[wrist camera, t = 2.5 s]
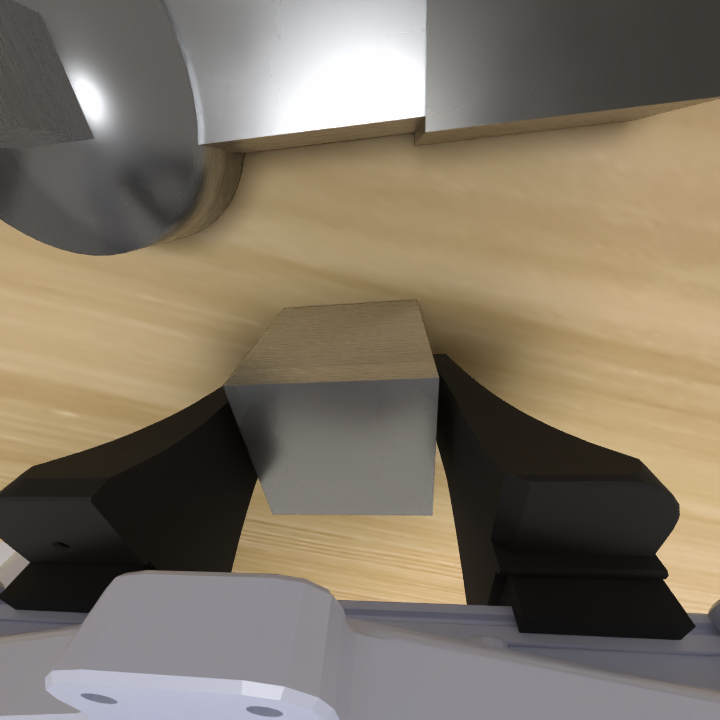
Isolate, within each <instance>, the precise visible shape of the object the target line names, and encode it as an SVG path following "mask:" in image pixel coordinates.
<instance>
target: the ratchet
mask: <svg viewBox="0 0 720 720" xmlns="http://www.w3.org/2000/svg"><path fill="white" fill-rule="evenodd" d="M716 99H720V0H0V219H1V220H2V221H4V222H5V223H7V224H9V225H10V226H12V227H14V228H15V229H17V230H19V231H21V232H22V233H24V234H26V235H28V236H30V237H32V238H34V239H36V240H38V241H40V242H43V243H45V244H48V245H51V246H53V247H56V248H59V249H62V250H66V251H70V252H74V253H78V254H86V255H94V256H100V255H115V254H121V253H126V252H130V251H134V250H137V249H141V248H145V247H148V246H152V245H156V244H160V243H163V242H167V241H171V240H175V239H178V238H182V237H186V236H189V235H192V234H195V233H197V232H199V231H201V230H203V229H205V228H206V227H208V226H209V225H211V224H212V223H213V222H214V221H215V220H217V219H218V217H219V216H220V215H221V214H222V213H223V212H224V211H225V209H226V208H227V206H228V204H229V203H230V201H231V200H232V198H233V195H234V193H235V191H236V188H237V186H238V182H239V179H240V175H241V171H242V164H243V158H244V153H248V152H257V151H265V150H273V149H281V148H290V147H298V146H306V145H314V144H323V143H331V142H339V141H347V140H356V139H364V138H372V137H380V136H389V135H397V134H405V133H413V132H414V146H416V145H424V144H433V143H441V142H450V141H459V140H467V139H476V138H484V137H493V136H501V135H510V134H519V133H527V132H536V131H544V130H553V129H561V128H570V127H578V126H587V125H596V124H604V123H613V122H621V121H630V120H637V119H641V118H645V117H649V116H653V115H657V114H661V113H664V112H668V111H672V110H676V109H680V108H684V107H688V106H692V105H696V104H700V103H704V102H708V101H712V100H716Z"/></svg>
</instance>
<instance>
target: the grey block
mask: <svg viewBox="0 0 720 720" xmlns="http://www.w3.org/2000/svg"><path fill="white" fill-rule="evenodd" d="M223 388H224V391H225V393H226V396H227V398H228V401H229V403H230V406H231V409H232V411H233V414H234V416H235V419H236V421H237V424H238V426H239V429H240V432H241V434H242V437H243V439H244V442H245V444H246V447H247V450H248V452H249V455H250V457H251V460H252V462H253V465H254V468H255V470H256V473H257V475H258V478H259V480H260V483H261V486H262V488H263V491H264V493H265V496H266V498H267V501H268V504H269V506H270V509H271V511H272V514H297V515H424V516H432V513H433V493H434V473H435V452H436V432H437V412H438V391H439V375H438V372H437V368H436V365H435V361H434V358H433V355H432V351H431V348H430V344H429V341H428V337H427V334H426V330H425V327H424V323H423V320H422V317H421V313H420V310H419V306H418V303H417V300H408V301H393V302H377V303H362V304H346V305H331V306H315V307H300V308H284V309H283V310H282V312H281V313H280V314H279V315H278V317H277V318H276V319H275V321H274V322H273V323H272V324H271V326H270V327H269V328H268V329H267V331H266V332H265V333H264V334H263V336H262V337H261V338H260V339H259V341H258V342H257V343H256V344H255V346H254V347H253V348H252V350H251V351H250V352H249V353H248V355H247V356H246V357H245V358H244V360H243V361H242V362H241V363H240V365H239V366H238V367H237V368H236V370H235V371H234V372H233V374H232V375H231V376H230V377H229V379H228V380H227V381H226V382H225V384H224V385H223Z"/></svg>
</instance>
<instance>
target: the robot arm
mask: <svg viewBox="0 0 720 720" xmlns="http://www.w3.org/2000/svg"><path fill="white" fill-rule="evenodd" d="M433 358H434V361H435V365H436V368H437V372H438V375H439V391H438V412H437V432H436V441H437V445H438V448H439V452H440V455H441V459H442V462H443V466H444V469H445V473H446V477H447V482H448V487H449V492H450V498H451V504H452V510H453V516H454V522H455V528H456V534H457V540H458V547H459V553H460V560H461V567H462V573H463V580H464V587H465V594H466V601H467V605H458V604H431V603H404V602H378V601H351V600H336V599H335V597H334V596H333V595H332V594H331V593H330V591H329V590H328V589H326V588H324V587H322V586H319V585H317V584H315V583H313V582H311V581H308V580H306V579H304V578H297V577H291V576H285V575H279V574H261V573H231V571H232V567H233V563H234V559H235V555H236V551H237V546H238V542H239V538H240V535H241V531H242V527H243V524H244V520H245V517H246V513H247V510H248V506H249V503H250V500H251V497H252V493H253V490H254V487H255V484H256V481H257V478H258V475H257V473H256V470H255V468H254V465H253V462H252V460H251V457H250V455H249V452H248V450H247V447H246V444H245V442H244V439H243V437H242V434H241V432H240V429H239V426H238V424H237V421H236V419H235V416H234V414H233V411H232V409H231V406H230V403H229V401H228V398H227V396H226V393H225V391H224V388H223V386H222V387H220V388H219V389H217V390H216V391H214V392H212V393H211V394H209V395H207V396H206V397H204V398H202V399H201V400H199V401H198V402H196V403H194V404H192V405H191V406H189V407H187V408H185V409H183V410H181V411H179V412H178V413H176V414H174V415H172V416H170V417H168V418H166V419H164V420H161V421H159V422H157V423H155V424H152V425H150V426H148V427H145V428H143V429H141V430H139V431H136V432H134V433H132V434H129V435H127V436H124V437H121V438H119V439H116V440H114V441H111V442H108V443H105V444H103V445H100V446H97V447H94V448H91V449H88V450H85V451H82V452H79V453H76V454H72V455H69V456H66V457H62V458H59V459H56V460H53V461H49V462H46V463H42V464H39V465H35V466H33V467H31V468H30V469H28V470H27V471H25V472H24V473H23V474H21V475H20V476H19V477H18V478H16V479H15V480H14V481H13V482H11V483H10V484H9V485H8V486H7V487H5V488H4V489H3V490H2V491H0V538H1V539H2V540H3V541H4V542H5V543H7V544H8V545H9V546H10V547H12V548H13V549H14V550H15V551H16V552H15V553H14V554H13V555H12V556H11V557H10V558H9V559H8V560H7V561H6V562H5V563H4V564H3V565H2V566H1V567H0V720H720V600H718V601H717V602H716V603H715V604H713V606H712V607H711V608H710V610H709V612H708V614H698V613H686V612H685V610H684V609H683V607H682V606H681V604H680V603H679V602H678V600H677V599H676V597H675V596H674V595H673V593H672V592H671V590H670V589H669V587H668V586H667V585H666V583H665V582H664V580H663V579H666V578H667V577H668V576H669V575H668V571H667V569H666V568H665V567H664V565H663V564H662V563H661V561H660V560H659V559H658V557H657V556H656V552H657V551H658V550H659V548H660V547H661V545H662V544H663V543H664V541H665V540H666V539H667V537H668V536H669V535H670V533H671V532H672V531H673V529H674V527H675V525H676V523H677V521H678V519H679V516H680V511H679V503H678V502H677V500H676V499H675V497H674V496H673V495H672V493H671V492H670V491H669V490H668V489H667V488H666V487H665V486H664V485H663V484H662V483H661V482H660V481H659V480H658V478H657V477H656V476H655V475H654V474H653V473H652V472H651V471H650V470H649V469H648V468H647V467H646V466H645V465H644V464H643V463H642V462H641V461H640V460H639V459H637V458H634V457H631V456H628V455H625V454H622V453H619V452H616V451H613V450H610V449H607V448H604V447H601V446H598V445H595V444H592V443H590V442H587V441H585V440H582V439H580V438H577V437H575V436H572V435H570V434H567V433H565V432H563V431H560V430H558V429H556V428H553V427H551V426H549V425H547V424H545V423H543V422H541V421H539V420H537V419H535V418H533V417H531V416H529V415H527V414H525V413H523V412H522V411H520V410H518V409H516V408H515V407H513V406H511V405H510V404H508V403H506V402H505V401H503V400H502V399H500V398H499V397H497V396H496V395H494V394H493V393H491V392H490V391H489V390H487V389H486V388H484V387H483V386H482V385H480V384H479V383H478V382H477V381H475V380H474V379H473V378H472V377H471V376H469V375H468V374H467V373H466V372H465V371H464V370H462V369H461V368H460V367H459V366H458V365H457V364H456V363H455V362H454V361H453V360H452V359H450V358H449V357H448V356H447V355H446V354H434V355H433Z"/></svg>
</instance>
